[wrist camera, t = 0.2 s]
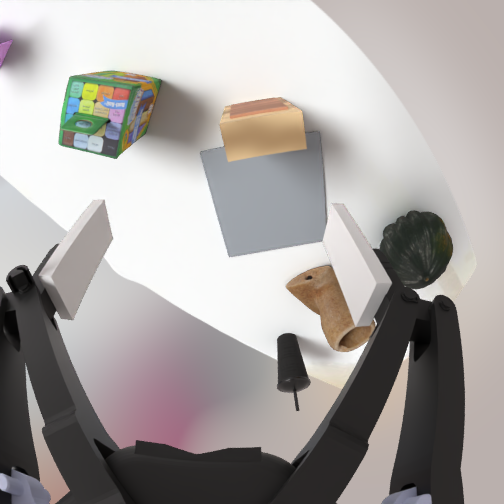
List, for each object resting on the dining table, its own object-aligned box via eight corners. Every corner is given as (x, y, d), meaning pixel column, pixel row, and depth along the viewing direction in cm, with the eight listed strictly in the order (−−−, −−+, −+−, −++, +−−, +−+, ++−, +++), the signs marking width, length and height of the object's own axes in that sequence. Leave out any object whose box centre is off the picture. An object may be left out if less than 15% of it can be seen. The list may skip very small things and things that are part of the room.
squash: (456, 252, 48) (474, 263, 34) (404, 292, 54) (406, 315, 41) (419, 197, 50) (429, 192, 37) (368, 239, 57) (361, 247, 44)
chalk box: (163, 79, 32) (125, 86, 21) (145, 136, 37) (107, 171, 26) (107, 68, 30) (52, 76, 18) (94, 124, 35) (41, 155, 23)
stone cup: (363, 288, 59) (386, 341, 48) (319, 314, 64) (334, 368, 52) (333, 247, 52) (358, 306, 40) (282, 279, 56) (294, 341, 44)
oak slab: (224, 104, 36) (218, 121, 24) (280, 95, 35) (301, 108, 24) (230, 132, 38) (228, 162, 27) (284, 122, 38) (306, 148, 27)
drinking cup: (282, 326, 65) (294, 402, 50) (307, 333, 68) (322, 405, 52) (265, 343, 69) (273, 414, 53) (290, 349, 72) (300, 417, 56)
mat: (200, 151, 40) (199, 152, 39) (318, 131, 39) (319, 132, 38) (229, 255, 52) (229, 257, 51) (325, 238, 51) (326, 240, 50)
